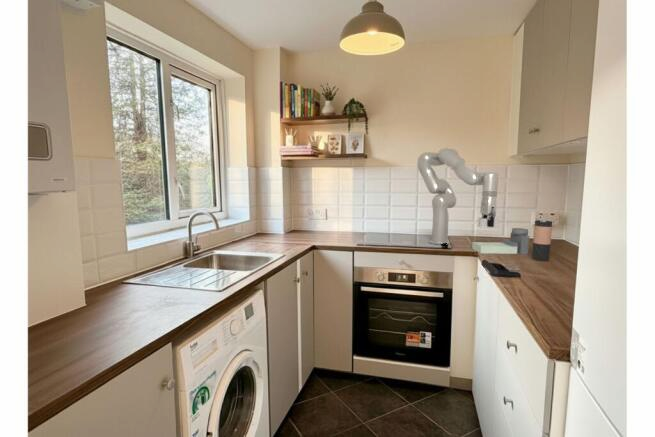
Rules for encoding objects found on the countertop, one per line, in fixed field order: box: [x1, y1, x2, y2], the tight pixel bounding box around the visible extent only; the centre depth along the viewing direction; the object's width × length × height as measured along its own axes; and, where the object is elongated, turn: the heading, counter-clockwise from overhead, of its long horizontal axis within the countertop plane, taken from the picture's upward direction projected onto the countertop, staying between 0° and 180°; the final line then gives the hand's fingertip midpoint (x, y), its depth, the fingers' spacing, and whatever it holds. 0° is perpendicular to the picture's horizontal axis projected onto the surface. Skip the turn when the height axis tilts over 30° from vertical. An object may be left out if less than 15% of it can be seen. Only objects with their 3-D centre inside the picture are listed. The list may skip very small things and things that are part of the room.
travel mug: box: [532, 219, 553, 262], centre depth 172 cm, size 8×8×20 cm
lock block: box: [477, 217, 499, 229], centre depth 190 cm, size 6×9×5 cm, turn 79°
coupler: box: [471, 227, 530, 255], centre depth 191 cm, size 12×28×13 cm, turn 89°
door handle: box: [481, 259, 522, 278], centre depth 150 cm, size 3×20×16 cm
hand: (487, 225), depth 190 cm, fingers closed on lock block, 6 cm apart
